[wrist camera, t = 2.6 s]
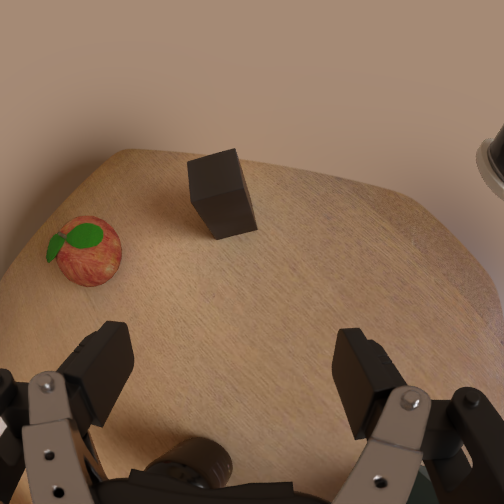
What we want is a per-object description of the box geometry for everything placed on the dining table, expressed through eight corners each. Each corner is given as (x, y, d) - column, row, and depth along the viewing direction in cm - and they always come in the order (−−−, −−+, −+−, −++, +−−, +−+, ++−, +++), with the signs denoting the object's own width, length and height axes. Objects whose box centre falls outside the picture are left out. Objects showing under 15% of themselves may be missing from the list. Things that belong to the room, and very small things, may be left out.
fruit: (87, 237, 37) (43, 206, 28) (139, 228, 36) (98, 190, 27) (79, 294, 34) (28, 273, 25) (134, 292, 33) (84, 267, 24)
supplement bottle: (179, 483, 24) (128, 526, 13) (172, 433, 26) (113, 463, 15) (237, 488, 23) (206, 543, 12) (232, 437, 26) (194, 478, 15)
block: (249, 194, 35) (235, 147, 27) (257, 229, 33) (244, 187, 25) (210, 204, 36) (186, 161, 27) (216, 240, 34) (190, 202, 25)
